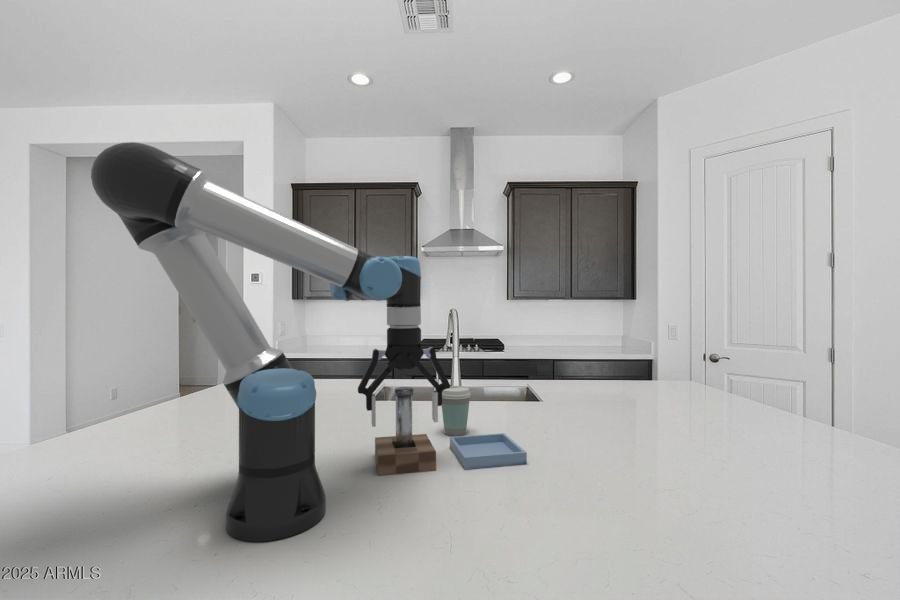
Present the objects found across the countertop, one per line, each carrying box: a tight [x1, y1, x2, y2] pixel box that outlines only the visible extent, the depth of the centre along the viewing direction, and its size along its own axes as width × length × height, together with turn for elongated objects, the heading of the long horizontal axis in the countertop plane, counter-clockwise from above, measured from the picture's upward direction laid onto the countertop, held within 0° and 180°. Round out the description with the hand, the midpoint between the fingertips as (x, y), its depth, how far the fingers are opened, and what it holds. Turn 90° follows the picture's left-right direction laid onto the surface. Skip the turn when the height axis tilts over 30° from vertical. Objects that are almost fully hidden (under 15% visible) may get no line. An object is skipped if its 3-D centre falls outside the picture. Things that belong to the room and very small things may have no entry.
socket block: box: [374, 433, 437, 477], centre depth 93 cm, size 12×12×4 cm
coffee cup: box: [441, 385, 472, 437], centre depth 114 cm, size 8×8×12 cm
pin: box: [393, 386, 414, 448], centre depth 93 cm, size 4×4×16 cm
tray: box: [449, 432, 528, 470], centre depth 97 cm, size 14×14×2 cm
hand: (404, 422), depth 93 cm, fingers open, 13 cm apart
